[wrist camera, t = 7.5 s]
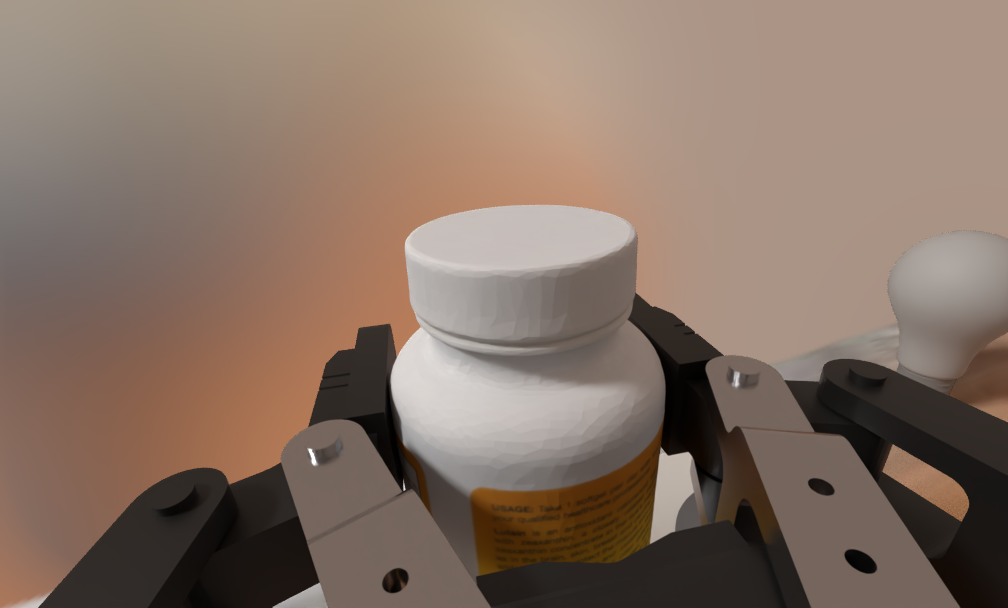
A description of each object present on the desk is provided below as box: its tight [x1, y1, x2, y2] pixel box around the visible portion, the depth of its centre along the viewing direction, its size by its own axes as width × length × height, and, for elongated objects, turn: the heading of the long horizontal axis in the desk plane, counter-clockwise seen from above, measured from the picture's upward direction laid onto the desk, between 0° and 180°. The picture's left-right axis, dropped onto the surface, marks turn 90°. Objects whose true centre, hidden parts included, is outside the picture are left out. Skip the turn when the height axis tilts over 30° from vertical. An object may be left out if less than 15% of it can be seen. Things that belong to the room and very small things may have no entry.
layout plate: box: [650, 452, 701, 544], centre depth 20 cm, size 12×13×1 cm
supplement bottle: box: [389, 205, 666, 585], centre depth 10 cm, size 5×5×10 cm
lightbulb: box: [888, 231, 1008, 395], centre depth 27 cm, size 6×6×11 cm
